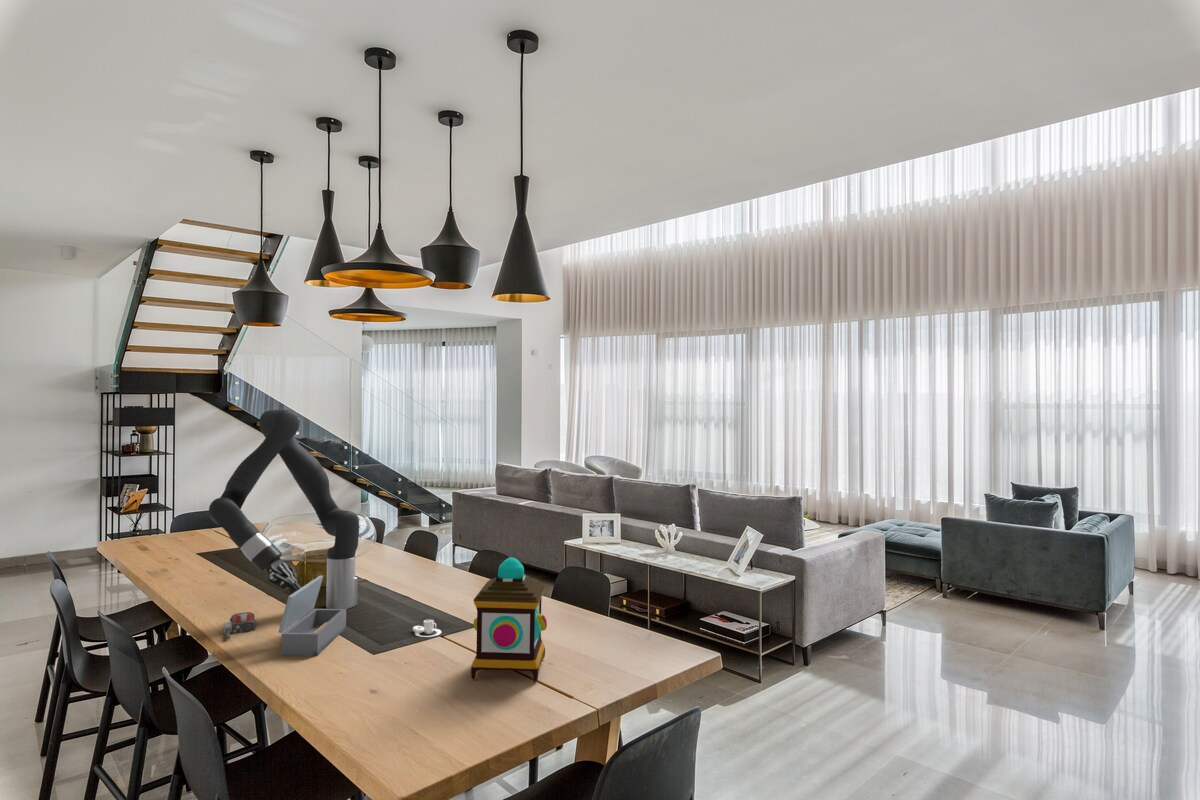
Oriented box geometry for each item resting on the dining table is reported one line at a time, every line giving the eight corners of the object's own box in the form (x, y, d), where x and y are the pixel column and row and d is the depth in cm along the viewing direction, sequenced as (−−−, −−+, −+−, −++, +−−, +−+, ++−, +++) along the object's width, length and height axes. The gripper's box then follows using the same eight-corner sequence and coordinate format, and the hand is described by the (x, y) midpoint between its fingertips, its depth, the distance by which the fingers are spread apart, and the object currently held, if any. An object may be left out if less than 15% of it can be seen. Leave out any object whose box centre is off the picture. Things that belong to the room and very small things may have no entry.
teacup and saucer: (408, 633, 216) (408, 620, 216) (430, 627, 222) (430, 614, 222) (424, 640, 210) (424, 626, 210) (446, 634, 216) (446, 621, 216)
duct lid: (281, 633, 195) (278, 632, 195) (314, 608, 219) (310, 607, 219) (292, 597, 195) (288, 596, 195) (323, 576, 219) (320, 575, 219)
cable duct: (281, 655, 195) (281, 634, 195) (313, 627, 219) (314, 608, 219) (317, 655, 195) (317, 634, 195) (345, 628, 219) (346, 609, 219)
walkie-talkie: (223, 623, 223) (223, 643, 205) (223, 609, 223) (224, 628, 205) (254, 620, 227) (256, 638, 209) (254, 606, 227) (257, 624, 209)
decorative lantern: (480, 654, 198) (482, 549, 198) (549, 656, 197) (551, 550, 198) (464, 683, 178) (466, 565, 178) (541, 685, 177) (543, 567, 178)
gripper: (260, 547, 200) (301, 591, 200) (280, 538, 213) (319, 580, 213) (240, 565, 200) (282, 609, 200) (262, 555, 213) (301, 597, 213)
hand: (301, 594), depth 207 cm, fingers closed
